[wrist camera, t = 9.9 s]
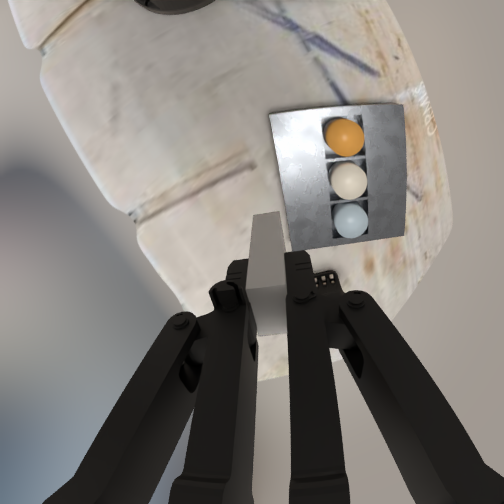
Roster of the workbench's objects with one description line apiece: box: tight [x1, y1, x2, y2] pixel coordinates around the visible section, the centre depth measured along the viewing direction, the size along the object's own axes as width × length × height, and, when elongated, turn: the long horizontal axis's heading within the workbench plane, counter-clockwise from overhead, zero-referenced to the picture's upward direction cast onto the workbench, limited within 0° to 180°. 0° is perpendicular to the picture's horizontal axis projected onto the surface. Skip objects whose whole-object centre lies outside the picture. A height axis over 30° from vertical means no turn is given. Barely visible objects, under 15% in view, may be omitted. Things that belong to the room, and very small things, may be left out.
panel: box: [269, 103, 407, 252], centre depth 37 cm, size 20×18×3 cm
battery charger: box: [314, 271, 345, 299], centre depth 44 cm, size 7×4×11 cm, turn 108°
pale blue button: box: [332, 201, 368, 238], centre depth 39 cm, size 5×5×3 cm
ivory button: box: [328, 160, 367, 200], centre depth 36 cm, size 5×5×3 cm
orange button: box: [323, 117, 364, 157], centre depth 33 cm, size 5×5×3 cm
